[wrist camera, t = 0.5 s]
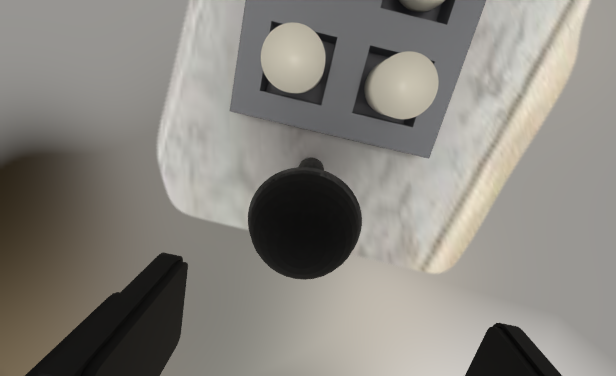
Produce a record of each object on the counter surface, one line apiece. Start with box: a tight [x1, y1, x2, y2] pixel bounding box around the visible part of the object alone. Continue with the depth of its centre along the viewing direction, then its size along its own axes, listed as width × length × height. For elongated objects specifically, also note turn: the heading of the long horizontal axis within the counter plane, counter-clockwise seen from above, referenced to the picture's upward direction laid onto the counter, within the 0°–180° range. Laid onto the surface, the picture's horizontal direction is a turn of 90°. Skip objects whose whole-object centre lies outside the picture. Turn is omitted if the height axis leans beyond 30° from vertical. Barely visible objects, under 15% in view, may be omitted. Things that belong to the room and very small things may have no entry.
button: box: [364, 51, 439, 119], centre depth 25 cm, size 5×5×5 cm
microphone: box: [248, 158, 362, 279], centre depth 24 cm, size 7×7×20 cm
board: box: [230, 0, 486, 158], centre depth 28 cm, size 20×20×4 cm
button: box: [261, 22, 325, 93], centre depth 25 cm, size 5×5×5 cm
